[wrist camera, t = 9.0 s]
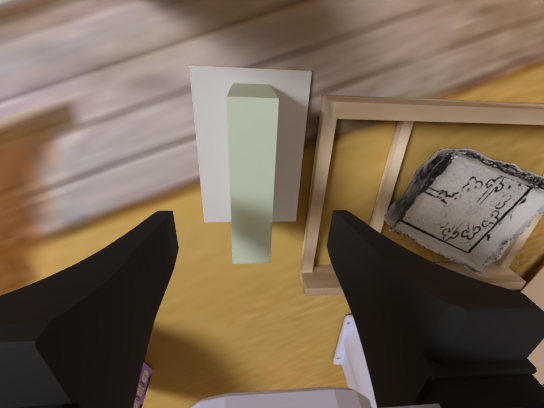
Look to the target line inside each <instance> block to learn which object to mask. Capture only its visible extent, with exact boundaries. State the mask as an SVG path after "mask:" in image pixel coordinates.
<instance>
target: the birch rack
mask: <svg viewBox="0 0 544 408" xmlns="http://www.w3.org/2000/svg"><path fill="white" fill-rule="evenodd" d="M337 119H362V120H396V121H398V122H397V126H396V129H395V133H394V137H393V140H392V144H391V148H390V151H389V155H388V159H387V162H386V166H385V170H384V174H383V177H382V181H381V185H380V188H379V192H378V196H377V199H376V203H375V207H374V211H373V214H372V218H371V222H370V225H369V226H370V227H372V228H373V229H375V230H376V231H378V232H379V233H381V230H382V227H383V223H384V220H385V219H384V215H385V214H386V213H387V210H388V207H389V203H390V200H391V197H392V193H393V190H394V187H395V183H396V180H397V177H398V173H399V170H400V167H401V163H402V160H403V157H404V153H405V150H406V147H407V143H408V140H409V137H410V133H411V130H412V127H413V123H414V121H429V122H463V123H497V124H531V125H544V103H518V102H491V101H465V100H439V99H412V98H386V97H359V96H333V95H322V101H321V109H320V117H319V124H318V132H317V140H316V148H315V156H314V163H313V171H312V179H311V187H310V195H309V202H308V210H307V218H306V226H305V233H304V241H303V249H302V257H301V265H300V272H299V273H300V278H301V282H302V286H303V290H304V294H305V296H328V295H344V293H343V290H342V288H341V286H340V283H339V281H338V279H337V276H336V274H335V271H334V269H333V266H332V265H314V258H315V252H316V246H317V240H318V233H319V227H320V221H321V215H322V208H323V202H324V196H325V190H326V183H327V177H328V171H329V165H330V158H331V152H332V146H333V140H334V133H335V127H336V121H337ZM543 177H544V175H543ZM543 183H544V181H543ZM542 215H543V214H538V216H536V217H534V216H532V218H533V221H532V224H531V226H530V227H529V228H528V229H526V231H525V232H524V233H523V234H522V235H521V236H520V237H518V238H516V239H514V240H512V241H510V244H509V246H508V247H507V248H506V250H505V251H504V252H503V255H502V256H501V258H500V260H496V261H494V262H492V263H491V265H489V266H488V265H486V266H485V267H484V268H483V269H484V271H485V272H487V273H488V274H489V277H488V278H487V277H485V276H482V275H477V274H476V273H475V272H473V271H470V270H468V269H467V268H466V267H464V266H462V265H461V264H460V263H458V262H439V263H436V264H438V265H441V266H443V267H445V268H448V269H450V270H453V271H455V272H458V273H461V274H463V275H466V276H469V277H472V278H475V279H477V280H480V281H483V282H486V283H490V284H493V285H497V286H500V287H503V288H507V289H521V288H522V287H523V286H524V284H525V283H526V281H524V280H523V279H522V278H521V277H520V276H518V275H517V274H516V273H515V272H514V271H512V270H511V269H510V268H509V266H510V265H511V263H512V262H513V260H514V259H515V257H516V255H517V254H518V252H519V251H520V249H521V248H522V246H523V245H524V243H525V241H526V240H527V238H528V237H529V235H530V234H531V232H532V231H533V229H534V227H535V226H536V224H537V223H538V221H539V220H540V218H541V216H542Z"/></svg>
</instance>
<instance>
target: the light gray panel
mask: <svg viewBox="0 0 544 408" xmlns="http://www.w3.org/2000/svg"><path fill="white" fill-rule="evenodd" d="M189 68H190V78H191V89H192V99H193V109H194V120H195V130H196V141H197V151H198V161H199V172H200V182H201V193H202V203H203V213H204V222H231V205H230V178H229V150H228V123H227V95H228V92H229V90H230V88H231V86H232V84H233V83H251V84H269V85H270V86H271V88H272V89H273V91H274V92H275V94H276V95H277V96H278V98H279V106H278V125H277V143H276V161H275V180H274V198H273V217H272V222H295V221H296V216H297V206H298V197H299V187H300V178H301V168H302V159H303V150H304V140H305V131H306V121H307V112H308V102H309V93H310V83H311V74H312V71H303V70H281V69H260V68H238V67H216V66H195V65H189Z"/></svg>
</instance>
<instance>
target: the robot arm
mask: <svg viewBox="0 0 544 408" xmlns="http://www.w3.org/2000/svg"><path fill="white" fill-rule="evenodd" d="M178 248H179V247H178V241H177V235H176V229H175V223H174V217H173V211H157V212H156V213H154V214H153V215H151V216H150V217H148V218H147V219H146V220H144V221H143V222H142V223H140V224H139V225H137V226H136V227H135V228H133V229H132V230H131V231H129V232H128V233H126V234H125V235H123V236H122V237H120V238H119V239H117V240H116V241H114V242H113V243H111V244H110V245H108V246H107V247H105V248H103V249H102V250H100V251H98V252H97V253H95V254H93V255H92V256H90V257H88V258H86V259H84V260H82V261H80V262H79V263H77V264H75V265H73V266H71V267H68V268H66V269H64V270H62V271H60V272H58V273H56V274H53V275H51V276H49V277H47V278H45V279H42V280H40V281H37V282H35V283H33V284H30V285H28V286H25V287H23V288H20V289H17V290H15V291H12V292H10V293H7V294H4V295H1V296H0V408H134V402H135V398H136V393H137V389H138V384H139V380H140V375H141V371H142V367H143V363H144V359H145V354H146V350H147V346H148V342H149V339H150V335H151V331H152V327H153V324H154V320H155V317H156V314H157V312H158V309H159V306H160V304H161V301H162V299H163V296H164V293H165V291H166V288H167V286H168V283H169V280H170V278H171V275H172V272H173V270H174V266H175V262H176V258H177V253H178ZM327 248H328V252H329V256H330V260H331V264H332V266H333V269H334V271H335V274H336V276H337V279H338V281H339V283H340V286H341V288H342V290H343V293H344V295H345V297H346V300H347V302H348V304H349V307H350V310H351V312H352V315H347V316H346V317H345V319H344V323H343V326H342V330H341V334H340V337H339V341H338V345H337V348H336V352H335V356H334V359H333V362H334V364H336V365H340V364H342V368H343V371H344V374H345V378H346V381H347V384H348V388H342V387H317V388H302V389H287V390H271V391H256V392H240V393H226V394H221V395H216V396H211V397H206V398H203V399H201V400H200V401H198V402H197V403H195V404H193V405H192V406H190V407H189V408H544V384H543V385H541V384H540V383H539V382H538V381H537V379H536V378H535V377H534V376H533V375H532V374H534V373H536V367H535V366H534V365H533V364H532V363H531V362H530V361H529V360H528V359H527V357H528V356H529V354H531V352H532V351H533V350H534V349H535V348H536V347H537V346H538V344H539V343H540V342H541V341H542V340H543V338H544V311H543V310H541V309H540V308H539V307H538V306H537V305H536V304H535V303H534V302H532V301H531V300H530V299H529V298H528V297H527V296H526V295H524V294H523V293H521V292H517V291H514V290H510V289H507V288H503V287H500V286H497V285H493V284H490V283H486V282H483V281H480V280H477V279H475V278H472V277H469V276H466V275H463V274H461V273H458V272H455V271H453V270H450V269H448V268H445V267H443V266H441V265H438V264H436V263H434V262H431V261H429V260H427V259H425V258H423V257H421V256H419V255H417V254H415V253H413V252H411V251H409V250H407V249H405V248H404V247H402V246H400V245H398V244H397V243H395V242H393V241H392V240H390V239H389V238H387V237H385V236H384V235H382V234H381V233H379V232H378V231H376V230H375V229H373V228H372V227H370V226H369V225H368V224H366V223H365V222H363V221H362V220H360V219H359V218H357V217H356V216H355V215H353V214H352V213H350V212H348V211H346V210H333V215H332V221H331V226H330V232H329V237H328V242H327Z"/></svg>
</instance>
